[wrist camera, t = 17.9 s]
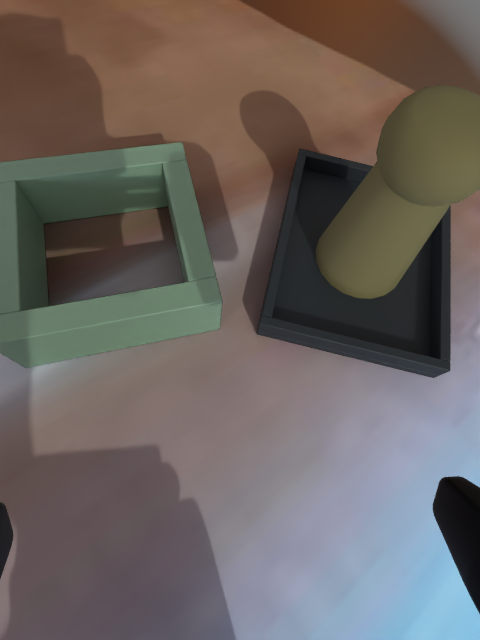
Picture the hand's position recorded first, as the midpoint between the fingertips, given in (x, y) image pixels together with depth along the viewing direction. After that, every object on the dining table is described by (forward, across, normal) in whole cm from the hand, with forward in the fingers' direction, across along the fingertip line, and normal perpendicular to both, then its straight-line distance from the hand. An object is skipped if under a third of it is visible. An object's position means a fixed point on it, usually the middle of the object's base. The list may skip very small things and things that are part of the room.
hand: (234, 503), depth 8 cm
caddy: (+18, +6, 0) cm, 19 cm away
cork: (+18, -10, -1) cm, 21 cm away
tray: (+19, -10, -1) cm, 21 cm away
